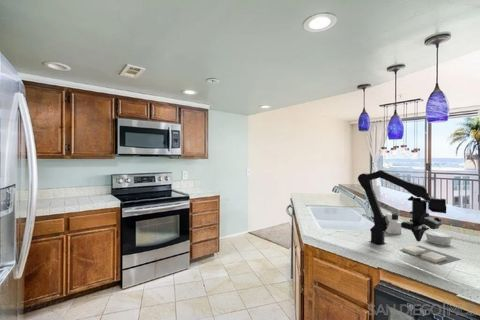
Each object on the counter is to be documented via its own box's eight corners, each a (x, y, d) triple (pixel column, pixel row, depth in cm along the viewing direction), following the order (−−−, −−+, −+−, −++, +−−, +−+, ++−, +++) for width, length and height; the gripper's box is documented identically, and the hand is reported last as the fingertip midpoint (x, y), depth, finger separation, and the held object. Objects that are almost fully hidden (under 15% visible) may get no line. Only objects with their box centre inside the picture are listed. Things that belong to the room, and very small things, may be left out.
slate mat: (440, 266, 103) (440, 265, 103) (398, 251, 120) (398, 250, 120) (461, 260, 109) (461, 259, 109) (419, 246, 126) (419, 245, 126)
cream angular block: (446, 260, 108) (435, 263, 105) (431, 255, 114) (421, 257, 111) (446, 256, 108) (435, 259, 105) (431, 251, 114) (421, 254, 111)
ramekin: (420, 241, 135) (420, 231, 135) (433, 238, 139) (433, 229, 139) (443, 248, 124) (443, 238, 124) (456, 245, 128) (456, 235, 128)
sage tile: (426, 253, 116) (415, 255, 113) (413, 248, 122) (402, 250, 119) (426, 249, 116) (415, 252, 113) (413, 245, 122) (402, 247, 119)
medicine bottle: (395, 230, 153) (395, 212, 153) (401, 234, 146) (401, 214, 145) (383, 230, 154) (383, 211, 153) (389, 234, 146) (389, 214, 146)
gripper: (425, 215, 108) (424, 250, 108) (449, 212, 115) (448, 244, 115) (400, 210, 118) (400, 241, 118) (424, 207, 125) (423, 236, 125)
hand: (418, 241), depth 119 cm, fingers closed
